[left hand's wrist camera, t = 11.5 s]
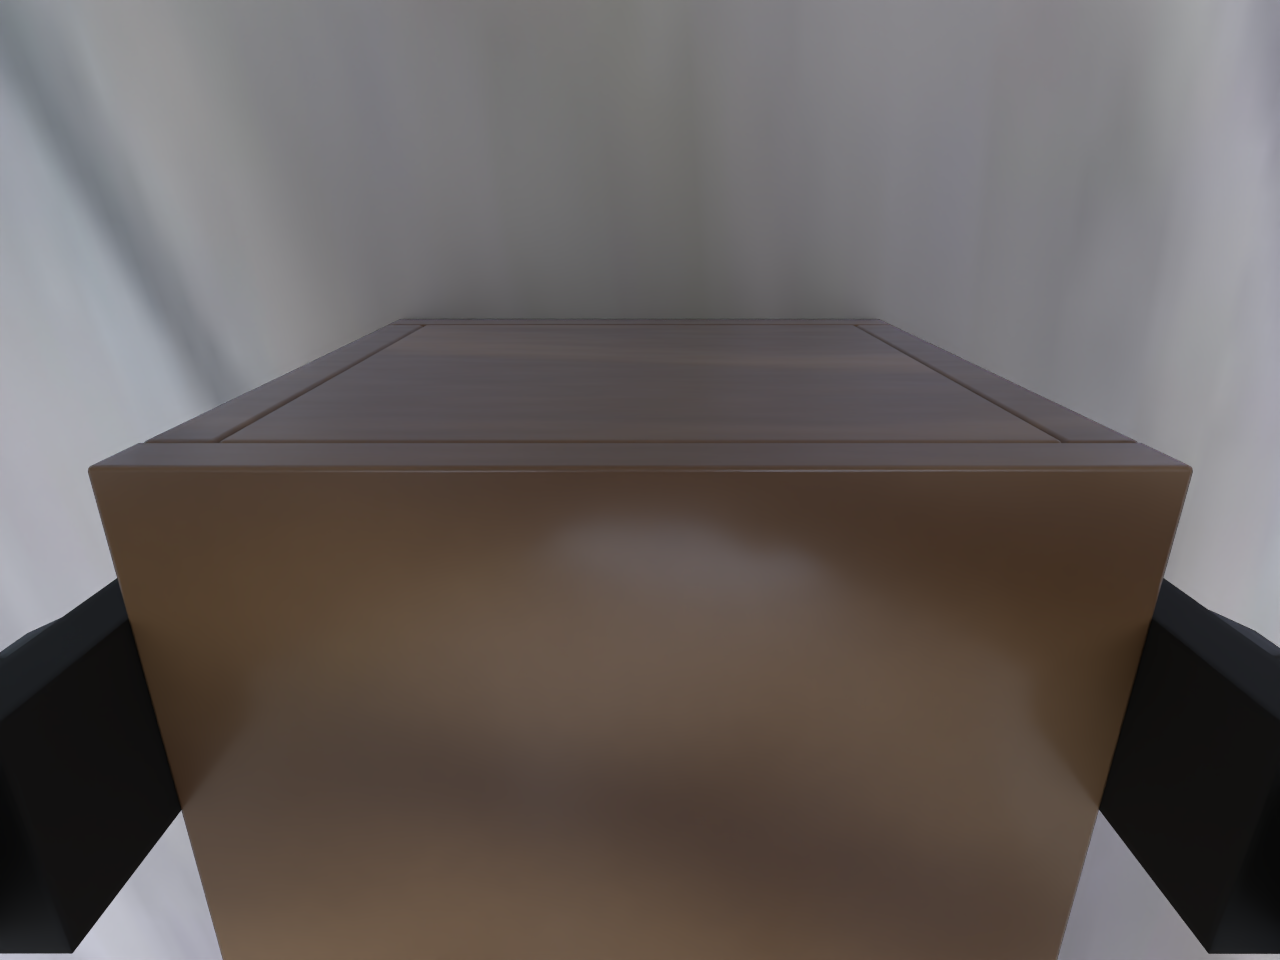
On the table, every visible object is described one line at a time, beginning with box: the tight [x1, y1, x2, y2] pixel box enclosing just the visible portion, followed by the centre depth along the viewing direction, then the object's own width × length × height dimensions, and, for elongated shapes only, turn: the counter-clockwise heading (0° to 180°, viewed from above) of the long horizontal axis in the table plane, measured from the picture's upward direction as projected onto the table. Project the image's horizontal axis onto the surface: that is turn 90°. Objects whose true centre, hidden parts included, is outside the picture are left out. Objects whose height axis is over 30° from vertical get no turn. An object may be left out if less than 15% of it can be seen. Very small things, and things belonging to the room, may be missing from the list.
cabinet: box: [88, 319, 1193, 960], centre depth 16 cm, size 21×11×10 cm, turn 0°
